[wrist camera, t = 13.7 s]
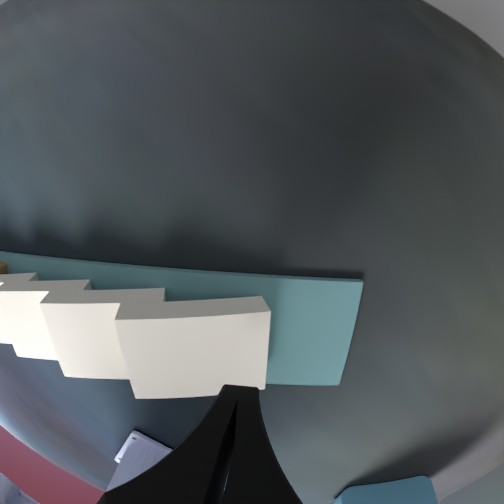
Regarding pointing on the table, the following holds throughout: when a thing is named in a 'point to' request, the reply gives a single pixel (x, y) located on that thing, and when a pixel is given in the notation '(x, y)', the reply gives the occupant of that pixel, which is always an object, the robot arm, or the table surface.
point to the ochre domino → (3, 268)
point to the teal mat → (234, 286)
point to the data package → (391, 492)
